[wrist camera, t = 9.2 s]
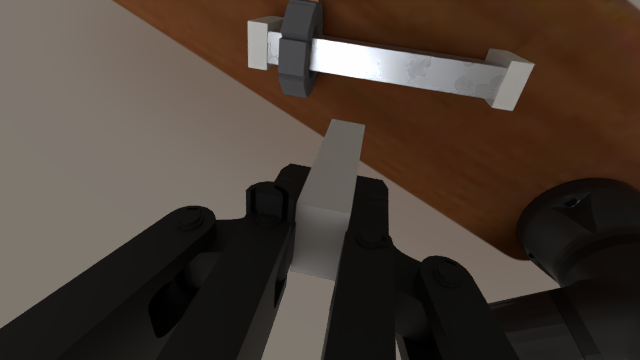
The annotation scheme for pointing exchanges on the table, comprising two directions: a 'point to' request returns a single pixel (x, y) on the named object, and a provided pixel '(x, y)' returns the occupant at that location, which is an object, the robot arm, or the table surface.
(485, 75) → the light grey bar
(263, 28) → the stand
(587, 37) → the table surface
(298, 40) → the ring
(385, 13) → the table surface
